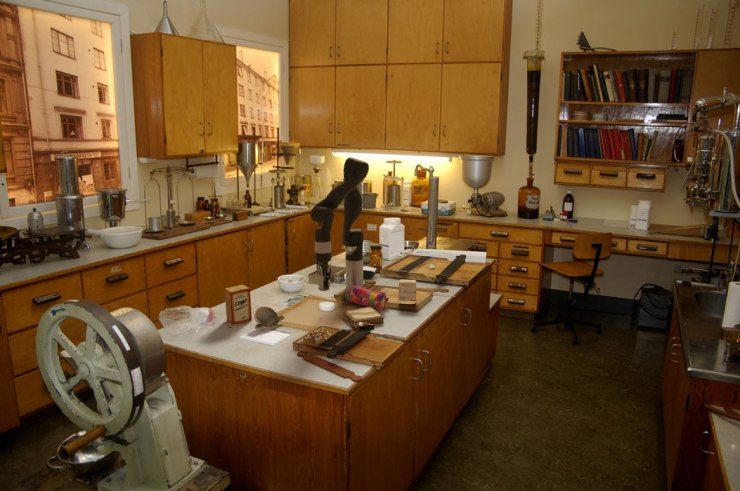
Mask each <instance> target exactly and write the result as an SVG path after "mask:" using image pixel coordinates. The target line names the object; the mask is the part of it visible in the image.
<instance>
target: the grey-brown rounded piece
mask: <svg viewBox="0 0 740 491" xmlns="http://www.w3.org/2000/svg"><path fill="white" fill-rule="evenodd" d="M253 318H254V320H255V323H256V324H255V325H254V329H255V330H256V331H259V330H262V329H263V330H268V329H270V330H272V329H275V328H277V326H278V324H279V323H280V321H281V322H283V321H284V320H285V319H286V318H285V316H284V315H283V314H282V315H279V316H278V314H277V312H276V311H275V310H274V309H273V308H271V307H269V306H260V307H258V308H257V309H256V311H255V313H254V314H253ZM282 320H283V321H282Z"/></svg>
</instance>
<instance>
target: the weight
mask: <svg viewBox="0 0 740 491" xmlns="http://www.w3.org/2000/svg"><path fill="white" fill-rule="evenodd" d="M317 279H318V280H317V282H318V284H317V286H318V287H317V288H318V291H322V292H326V291H329V290H330V280H328V288H324V287H323V276H322V275H321V273H320V274H317Z"/></svg>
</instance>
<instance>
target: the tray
mask: <svg viewBox="0 0 740 491" xmlns="http://www.w3.org/2000/svg"><path fill="white" fill-rule="evenodd" d="M342 312H343V313H342V314H343V318H344V319H345V320H346V321H347V323H349V324H350V325H352V324H354V323H359V322H367V323H370V324H373V325H372V326H374V325H380V324H384V322H385V319H384V318H385V317H384V316H383V315H382V314H380V313H379V311H378V310H376V309H373V308H372V307H366V306H365V307H362V308H361V307H360V308H355V309H350V310H349V309H348V310H344V311H342ZM352 326H353V325H352Z"/></svg>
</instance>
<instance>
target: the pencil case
mask: <svg viewBox="0 0 740 491" xmlns="http://www.w3.org/2000/svg"><path fill="white" fill-rule="evenodd" d="M386 294H387V291H385V292H383V291H381V290H379V291H378V292H377V291H374V290H372V289H369V288H365V287H363V288H362V287H358V286H356V285H352V286H349V287H348V288H347V289H346V288H345V293H344V299H345V300H346V301H347V302H348V303H353V304H356V305H360V306H363V307H365V308H366V307H372V308H373V309H374V310H375V311H381V310H383V309H384V308H386V306H387V302H388V301H389V300H390V297H387V295H386Z"/></svg>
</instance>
